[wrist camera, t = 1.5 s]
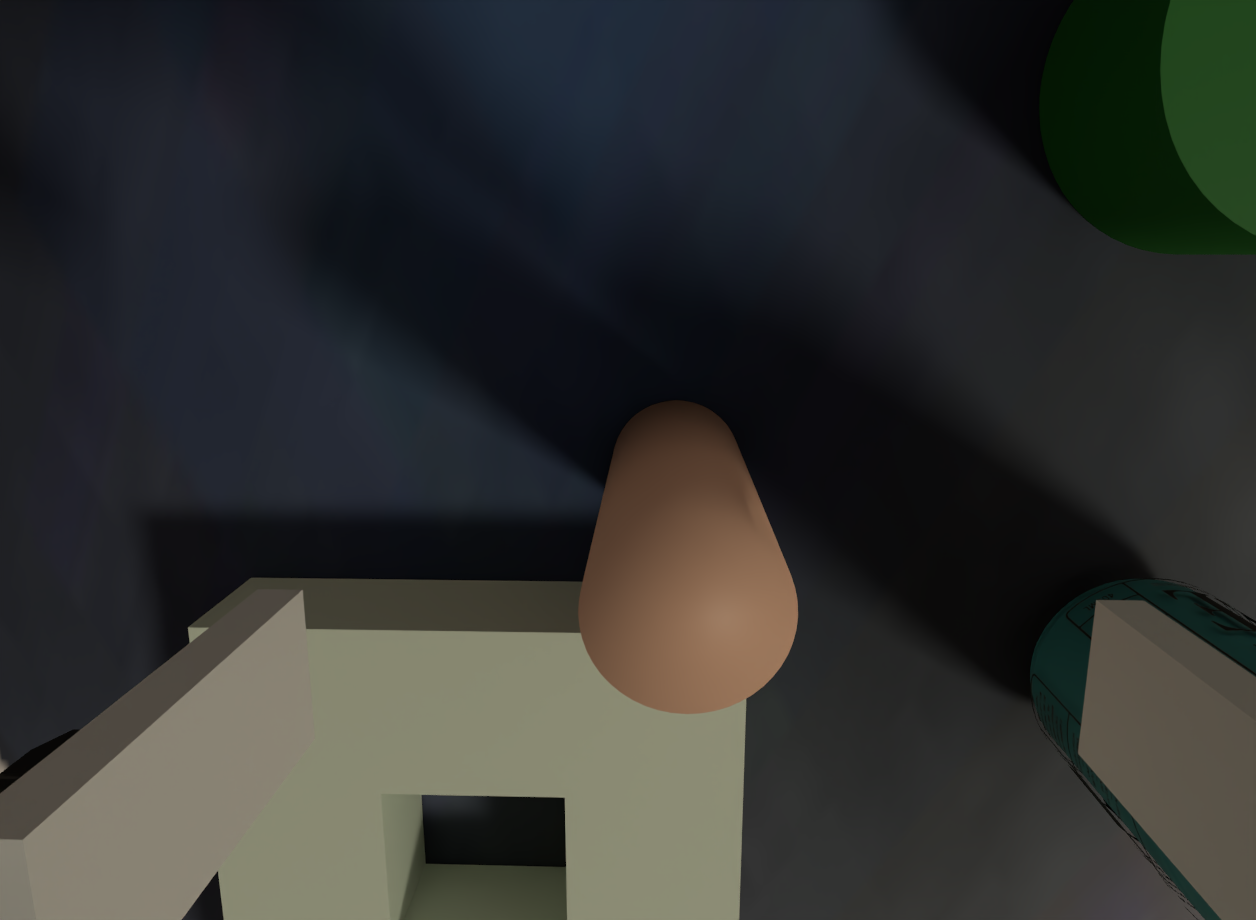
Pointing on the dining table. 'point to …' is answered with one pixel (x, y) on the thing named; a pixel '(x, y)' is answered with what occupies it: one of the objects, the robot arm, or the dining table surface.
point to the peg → (684, 568)
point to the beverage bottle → (1066, 667)
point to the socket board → (483, 765)
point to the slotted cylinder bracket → (1156, 121)
